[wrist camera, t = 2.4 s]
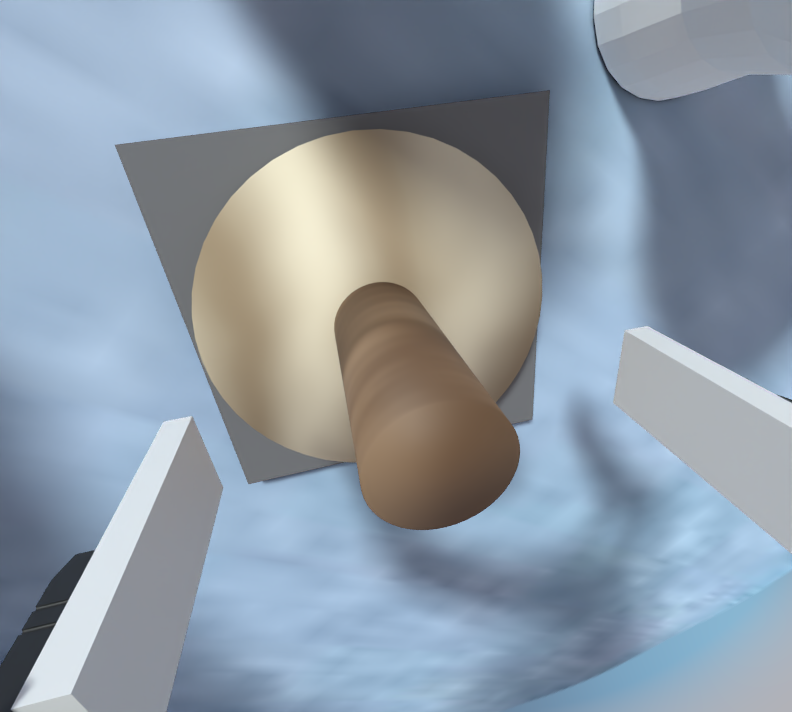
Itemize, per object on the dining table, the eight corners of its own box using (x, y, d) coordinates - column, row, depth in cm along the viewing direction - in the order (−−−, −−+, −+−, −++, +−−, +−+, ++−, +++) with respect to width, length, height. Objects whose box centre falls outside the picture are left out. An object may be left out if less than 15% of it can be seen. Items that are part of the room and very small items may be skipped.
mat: (250, 471, 23) (248, 484, 22) (125, 144, 15) (114, 144, 14) (524, 409, 25) (532, 419, 24) (536, 93, 17) (549, 90, 16)
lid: (255, 474, 22) (222, 707, 13) (136, 158, 14) (-131, 183, 6) (524, 414, 23) (660, 580, 14) (536, 106, 16) (821, 62, 7)
